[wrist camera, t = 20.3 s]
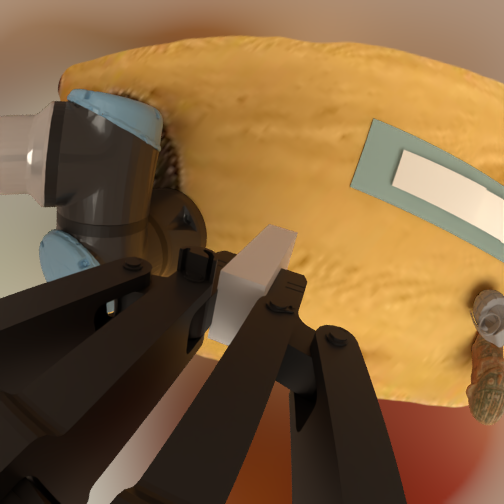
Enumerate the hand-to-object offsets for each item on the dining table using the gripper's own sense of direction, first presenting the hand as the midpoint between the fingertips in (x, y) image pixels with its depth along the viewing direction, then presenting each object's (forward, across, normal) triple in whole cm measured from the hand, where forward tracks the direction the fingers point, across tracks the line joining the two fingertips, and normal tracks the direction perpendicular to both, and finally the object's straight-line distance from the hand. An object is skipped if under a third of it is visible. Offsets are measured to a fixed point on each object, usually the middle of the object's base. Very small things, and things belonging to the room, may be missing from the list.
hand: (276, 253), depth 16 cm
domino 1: (+26, +10, +7) cm, 28 cm away
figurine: (+27, +35, -15) cm, 47 cm away
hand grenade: (+27, +30, -7) cm, 41 cm away
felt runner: (+27, +20, +6) cm, 34 cm away
